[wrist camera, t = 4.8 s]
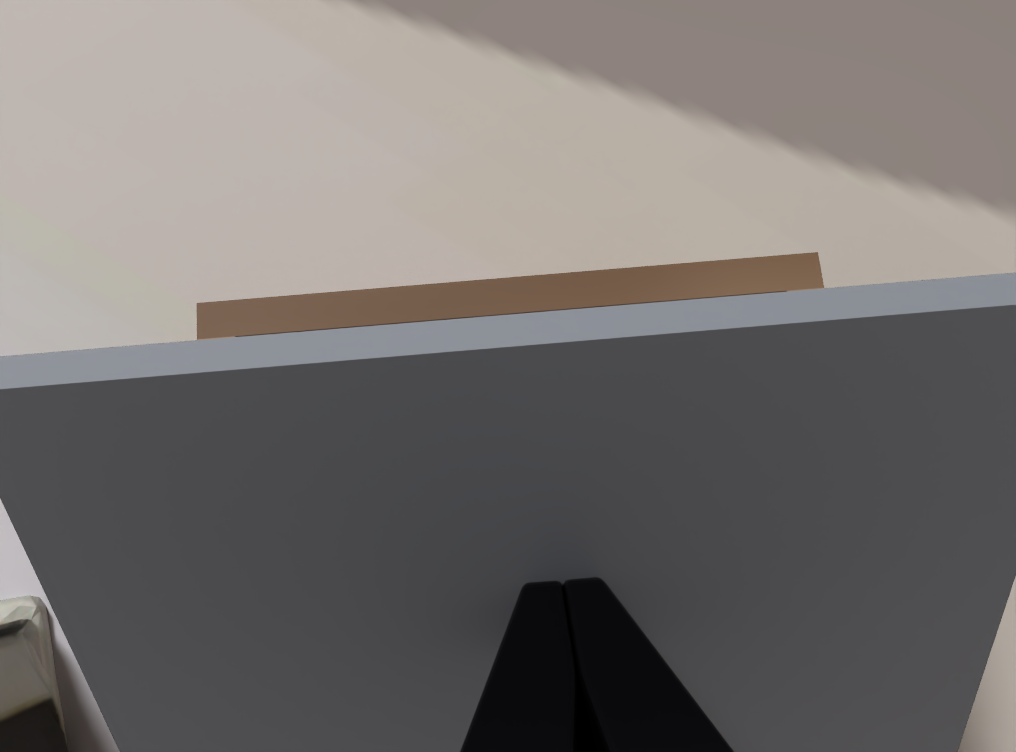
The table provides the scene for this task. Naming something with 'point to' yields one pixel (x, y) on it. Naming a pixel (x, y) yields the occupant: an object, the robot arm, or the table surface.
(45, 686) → the tape dispenser
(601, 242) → the table surface
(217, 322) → the box
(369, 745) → the lid
